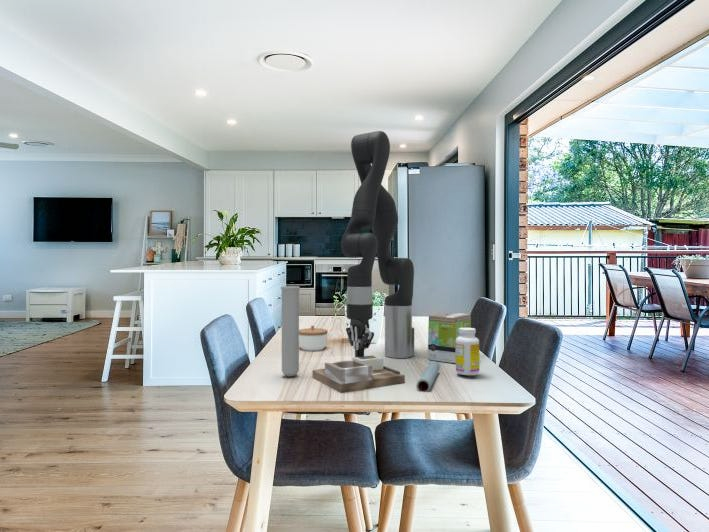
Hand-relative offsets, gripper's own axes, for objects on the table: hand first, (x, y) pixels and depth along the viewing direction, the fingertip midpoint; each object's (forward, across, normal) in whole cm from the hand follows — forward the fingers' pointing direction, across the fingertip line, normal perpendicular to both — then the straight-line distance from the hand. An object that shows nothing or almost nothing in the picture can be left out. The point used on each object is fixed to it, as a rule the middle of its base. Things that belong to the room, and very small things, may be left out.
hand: (359, 362), depth 128 cm
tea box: (+3, +4, -37) cm, 38 cm away
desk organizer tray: (+3, -7, +4) cm, 8 cm away
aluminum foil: (+4, -15, -12) cm, 19 cm away
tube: (+3, +6, +19) cm, 20 cm away
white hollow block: (+1, -4, 0) cm, 4 cm away
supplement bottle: (+3, -15, -27) cm, 31 cm away
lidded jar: (+3, +36, -1) cm, 36 cm away
